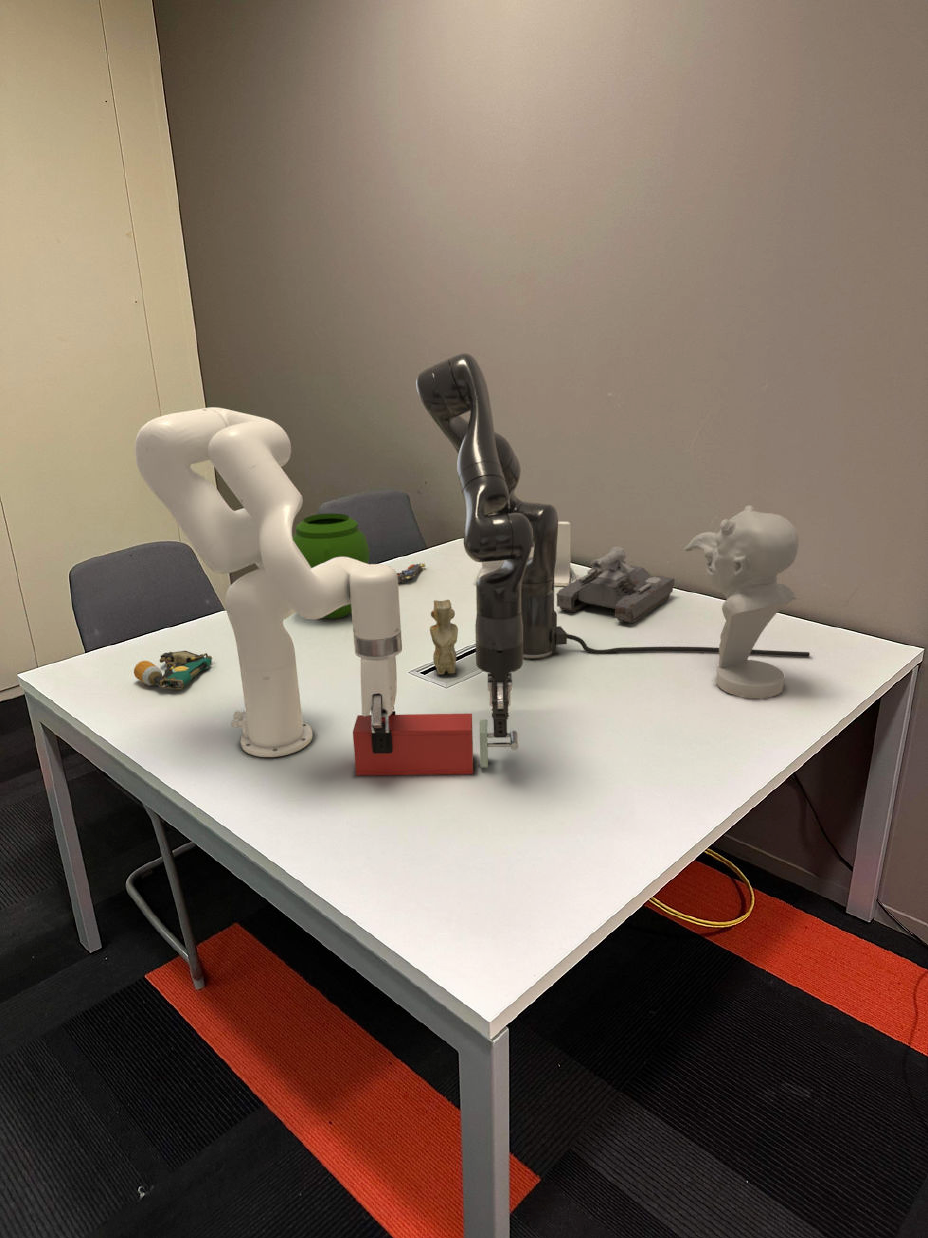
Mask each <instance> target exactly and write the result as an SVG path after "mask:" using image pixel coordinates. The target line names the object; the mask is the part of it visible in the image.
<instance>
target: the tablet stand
mask: <svg viewBox="0 0 928 1238" xmlns="http://www.w3.org/2000/svg"><path fill="white" fill-rule="evenodd" d="M533 553H534V547H532V549H531V552H530V556H529V558H530V557H533ZM571 560H572V558H571V522H569V521H558V537H557V555H556V565H555V571H554V587H556V586H557V587H566V586H567V585H569V584H570V580H571V579H570V578H571V565H572V564H571ZM504 561H505V560H502V561H492V562H481V570H480V573H479V575H478V577H477V580H478V579H479V578H480V577H481V576H482V575H485V574H487V573H490V572H492V571H495V570H497V569H499V568H500V567H501V566H502V565H503V563H504Z"/></svg>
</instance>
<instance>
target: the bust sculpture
mask: <svg viewBox="0 0 928 1238" xmlns="http://www.w3.org/2000/svg"><path fill="white" fill-rule="evenodd" d="M719 528H720V529H719V531H718V532H713V531H705V532H701V533H699V534H697V535H695V536H694V537H693V538H692V539H691V541H690V542H689V543H688V544H687V545H686V546H685V547H684V551H685V552H692V551H696V550H702V551H703V553H704V557H705V559H706V560H707V561H708V562H707V563H706V564H705V570H706V573H707V576H708V577H709V580H710V581H711V583H712V586H714V588H715V589H717V591H719V592H720V593H721V594H722V595H723V596H724V597H726V600H725V601H724V602H723V604H722V606H721V611H722V615H723V617H724V619H725V622H724V625H723V627H722V631H721V633H720V642H719V645H718V646H719V647H718V648H719V652H718V666H717V668H716V675H715V684H716V685H717V687H718V688H720V690H722V691H723V692H726V693H728V694H731V695H733V696H737V697H740V698H741V697H742V698H748V699H766V698H771V697H775V696H778V695H779V694H781V693H782V692H783V690H784V686H785V685H784V684H785V673H784V672H783V670H782V669H780V668H779V667H777V666H775V665H773V664H771V663H768V662H765V661H760V660H754V659H749V657H750V655H751V654H750V653H751V651H752V649H753V650H754V647H755V645H756V643H757V642H758V640H759V638H760V637H761V634H762V633H763V632H764V631H765V628H766V627H768V624H769V623H770V622H771V620H772V619H773V618H774V617H775V616H776V615H777V614H778V613H779V612H780V611H781V610H782V609H783V608H784V607H786V606H787V605H788V604H790V603H791V602H792V601H795V600H797V599H798V597H797V595H796V594H795V592H794V591H793V590H792V588H791V587H789V586H788V585H786V584H782V583H779V582H778V581H777V580H778V576H777V575H779V574H781V573H783V572H785V571H786V570H788V569H789V568H790V567H791V566H792V565H793V563H794V562H795V560H796V558H797V556H798V551H799V535H798V532H797V530H796V527H795V525H793V524H792V522H791V521H790V520H789V519H787V518H786V517H784V516H783V515H781V514H777V513H770V512H760V511H756V510H755V508H754V506H753V505H746V506H745V507H744V509H743V510H742V511H740V512H739V513H737V514H735V515H733V516H732V517H731V518H730V519H728V518H725V519H723V520H721V521H720V525H719Z"/></svg>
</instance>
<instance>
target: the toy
mask: <svg viewBox="0 0 928 1238" xmlns="http://www.w3.org/2000/svg"><path fill="white" fill-rule="evenodd" d="M626 557H627V556H626V551H625V549H624V548H622V547H621V546H614V547H612V548H611V549H610V550H609V552H608V553H607V554H605V555H604V556H601V557H599V558H598V559H597V557H596V558H594V559H593V560H592V561H590V562H589V563H590V564H591V565H592V567H591V568H590V569H589V570H587V573H586V575H584V576H582V577H580V578H578V579H577V580H575V581H573V582H570V583H569V585H567V586H563V587H562V588H560V589H559V590H558V591H557V592H556V607H558V608H559V609H560V610H562V611H566V612H572V613H575V612H577V611H579V610H581V609H582V608H585V607H586V606H588V605H592V606H598V607H602V608H603V607H604V608H609V609H613V610H614V618H615V619H617V620H618V621H621V622H626V623H631V624H634V623H635V622H637V621H638V620H640V619H641V618H642V617H644V616H645V615H647V614H648V613H650V612H651V611H652V610H654V609H655V608H657V607H659V606H660V605H661V604H663V603H664V602H666V601H667V600H669V598H670V596H671V594H672V593H673V591H674V585H675V580H676V579H675V578H673V577H668V576H663V575H656V576H655V577H654V576H651V574H650V573H649V572H648V571H647V570H646V568H644V567H641V566H635V565H629V564H628V563H627V562H626V561H625V559H626Z"/></svg>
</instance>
